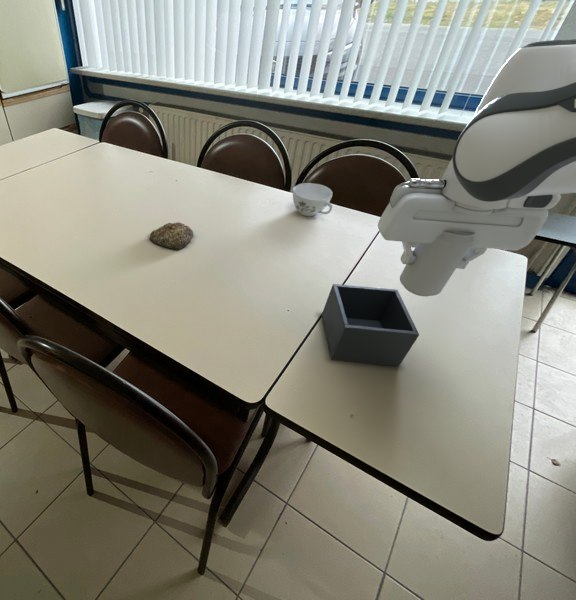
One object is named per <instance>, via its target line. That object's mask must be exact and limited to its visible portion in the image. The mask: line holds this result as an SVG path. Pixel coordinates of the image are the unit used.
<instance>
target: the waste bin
mask: <svg viewBox="0 0 576 600" xmlns="http://www.w3.org/2000/svg"><path fill="white" fill-rule="evenodd" d="M320 317H321V321H322V325H323V330H324V334H325V338H326V343H327V347H328V352H329V356H330V360H332V361H340V362H349V363H359V364H367V365H377V366H385V367H394V368H395V367H396V368H399V367H400V365H401V364H402V363H403V361H404V359H405V358H406V356H407V355H408V353H409V351H410V350H411V348H412V347H413V346H414V344H415V343H416V341H417V339H418V338H419V336H420V332H419V330H418V329H417V327H416V325H415V322H414V321H413V319H412V317H411V314H410V312H409V310H408V309H407V306H406V304H405V302H404V300H403V298H402V296H401V294H400V292H399V290H398V289H396V288H383V287H372V286H361V285H350V284H339V283H333V284H332V286H331V288H330V291H329V293H328V296H327V299H326V302H325V305H324V307H323V310H322V313H321V315H320Z"/></svg>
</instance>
